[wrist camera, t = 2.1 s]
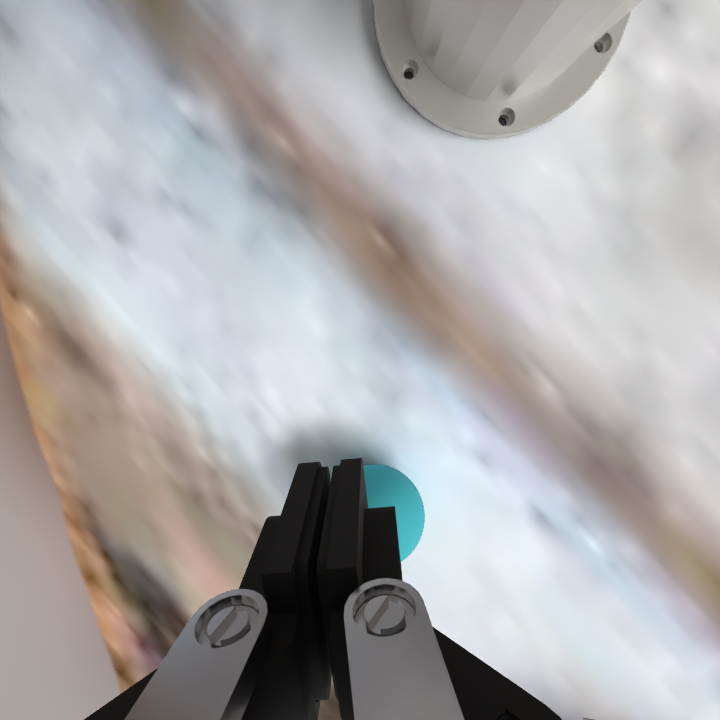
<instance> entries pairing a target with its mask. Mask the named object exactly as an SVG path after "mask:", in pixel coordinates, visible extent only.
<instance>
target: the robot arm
mask: <svg viewBox="0 0 720 720" xmlns="http://www.w3.org/2000/svg"><path fill="white" fill-rule="evenodd" d="M640 1H641V0H374V1H373V7H374V19H375V30H376V36H377V40H378V44H379V48H380V51H381V55H382V59H383V61H384V63H385V65H386V68H387V70H388V72H389V74H390V76H391V79H392V81H393V82H394V84H395V85H396V87H397V88H398V90H399V91H400V92H401V94H402V95H403V97H404V98H405V99H406V101H407V102H408V103H409V104H410V105H411V106H412V107H413V108H414V109H415V110H417V111H418V112H419V113H420V114H421V115H422V116H423V117H424V118H426V119H427V120H429V121H431V122H432V123H434V124H435V125H437V126H439V127H440V128H442V129H444V130H447V131H450V132H452V133H455V134H458V135H461V136H464V137H471V138H479V139H496V138H508V137H511V136H515V135H518V134H522V133H526V132H529V131H531V130H533V129H535V128H537V127H539V126H541V125H543V124H545V123H547V122H549V121H551V120H553V119H554V118H555V117H557V116H558V115H560V114H561V113H562V112H564V111H565V110H567V109H568V108H569V107H571V106H572V105H573V104H574V103H575V102H576V101H577V100H578V99H580V98H581V97H582V96H583V95H584V94H585V93H586V92H587V91H588V90H589V89H590V88H591V86H592V85H593V84H594V83H595V81H596V80H597V79H598V78H599V76H600V75H601V74H602V73H603V71H604V70H605V69H606V67H607V65H608V64H609V62H610V60H611V59H612V57H613V55H614V54H615V52H616V50H617V48H618V46H619V44H620V41H621V39H622V36H623V33H624V31H625V28H626V25H627V23H628V20H629V18H630V13H631V10H632V9H633V8H634V7H635V6H636V5H637V4H638V3H639V2H640ZM594 46H596V47H597V48H598V52H597V51H596V50H595V47H594ZM407 71H410V72H412V73H413V78H412V79H406V78H405V77H404V73H405V72H407ZM500 117H503V118H504V119H505V120H506V125H505V126H502V125H501V124H500V123H499V121H498V119H499V118H500ZM331 676H332V677H333V683H334V689H335V695H336V699H338V701H339V707H340V713H341V719H342V720H562V719H561V718H560V717H559V716H558V715H557V714H555V713H554V712H553V711H552V710H551V709H550V708H549V707H547V706H546V705H545V704H543V703H542V702H541V701H539V700H538V699H536V698H535V697H533V696H532V695H530V694H529V693H528V692H526V691H525V690H523V689H522V688H520V687H519V686H517V685H516V684H515V683H513V682H512V681H510V680H509V679H507V678H506V677H504V676H503V675H502V674H500V673H499V672H497V671H496V670H494V669H493V668H491V667H490V666H489V665H487V664H486V663H484V662H483V661H481V660H480V659H478V658H477V657H476V656H474V655H473V654H471V653H470V652H468V651H467V650H465V649H464V648H463V647H461V646H460V645H458V644H457V643H455V642H454V641H452V640H451V639H450V638H448V637H447V636H445V635H444V634H442V633H441V632H439V631H438V630H437V629H435V628H434V627H432V624H431V621H430V618H429V615H428V612H427V610H426V607H425V604H424V601H423V599H422V597H421V596H420V594H419V592H418V591H417V590H416V589H415V588H414V587H412V586H411V585H410V584H408V583H406V582H403V581H402V570H401V560H400V550H399V540H398V530H397V521H396V511H395V506H390V507H378V508H368V501H367V492H366V484H365V476H364V467H363V461H362V458H357V459H346V460H341V464H340V466H334V467H333V472H332V478H331V481H330V474H329V468H328V467H321V464H320V462H312V463H301V464H298V466H297V469H296V472H295V475H294V478H293V481H292V484H291V487H290V490H289V493H288V496H287V499H286V501H285V504H284V507H283V510H282V513H281V516H270V517H268V518H267V519H266V521H265V523H264V526H263V528H262V531H261V534H260V536H259V539H258V541H257V544H256V546H255V549H254V551H253V554H252V557H251V559H250V562H249V564H248V567H247V569H246V572H245V574H244V577H243V580H242V582H241V585H240V587H239V589H236V590H231V591H227V592H224V593H221V594H219V595H217V596H215V597H214V598H212V599H210V600H209V601H207V602H206V603H205V604H204V605H202V606H201V607H200V608H199V609H198V610H197V611H196V612H195V614H194V615H193V616H192V617H191V619H190V620H189V622H188V623H187V625H186V626H185V628H184V629H183V631H182V632H181V634H180V636H179V637H178V639H177V640H176V642H175V643H174V645H173V646H172V648H171V649H170V651H169V652H168V654H167V655H166V657H165V658H164V660H163V661H162V663H161V664H160V666H159V668H157V669H156V670H154V671H153V672H152V673H150V674H149V675H147V676H146V677H144V678H143V679H142V680H140V681H139V682H137V683H136V684H134V685H133V686H132V687H130V688H129V689H127V690H126V691H124V692H123V693H121V694H120V695H119V696H117V697H116V698H114V699H113V700H111V701H110V702H109V703H107V704H106V705H104V706H103V707H102V708H100V709H99V710H97V711H96V712H94V713H93V714H91V715H90V716H89V717H87V718H86V719H84V720H318V715H319V706H320V700H328V699H329V696H330V687H331ZM583 720H593V719H587V718H583Z"/></svg>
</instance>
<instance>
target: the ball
mask: <svg viewBox="0 0 720 720" xmlns="http://www.w3.org/2000/svg"><path fill="white" fill-rule="evenodd" d="M363 467H364V476H365V484H366V492H367V501H368V508H378V507H390V506H395V511H396V521H397V530H398V540H399V550H400V560H401V561H403V560H404V559H405V558H407V557H408V556H409V555H410V554H411V553H412V552H413V550H414V549H415V547H416V546H417V544H418V542H419V540H420V538H421V535H422V532H423V528H424V521H425V514H424V506H423V502H422V499H421V496H420V494H419V492H418V490H417V488H416V487H415V485H414V484H413V483H412V482H411V480H410V479H409V478H408V477H406V476H405V475H404V474H403V473H401V472H400V471H398V470H396V469H394V468H392V467H389V466H385V465H378V464H371V465H365V466H363Z"/></svg>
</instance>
